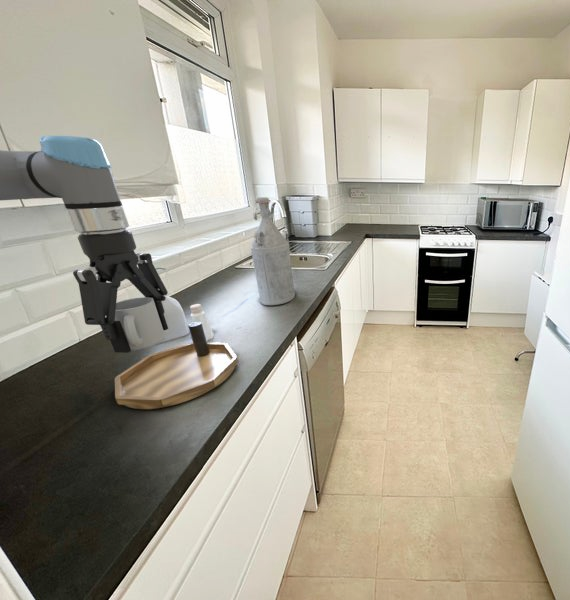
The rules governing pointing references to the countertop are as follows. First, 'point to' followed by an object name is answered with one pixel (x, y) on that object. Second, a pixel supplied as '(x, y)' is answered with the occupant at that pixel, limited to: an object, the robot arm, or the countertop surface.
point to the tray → (176, 373)
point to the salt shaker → (201, 320)
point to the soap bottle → (174, 319)
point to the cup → (140, 322)
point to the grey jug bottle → (271, 259)
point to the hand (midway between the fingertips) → (143, 339)
